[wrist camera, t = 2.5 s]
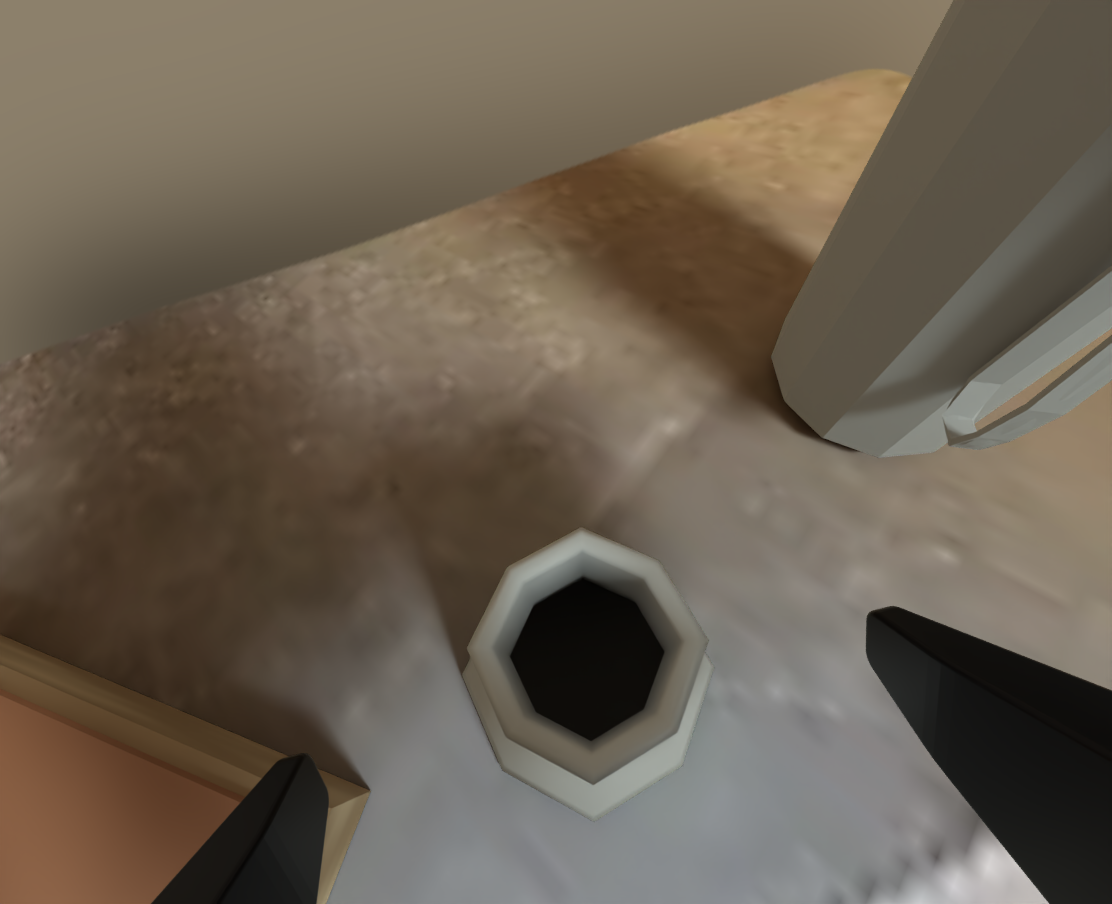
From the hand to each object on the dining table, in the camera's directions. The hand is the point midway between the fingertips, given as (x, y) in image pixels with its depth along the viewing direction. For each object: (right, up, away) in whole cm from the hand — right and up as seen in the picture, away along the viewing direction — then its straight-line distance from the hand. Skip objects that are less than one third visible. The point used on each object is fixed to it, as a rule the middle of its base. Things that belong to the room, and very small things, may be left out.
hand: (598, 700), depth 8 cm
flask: (0, -3, +8) cm, 9 cm away
